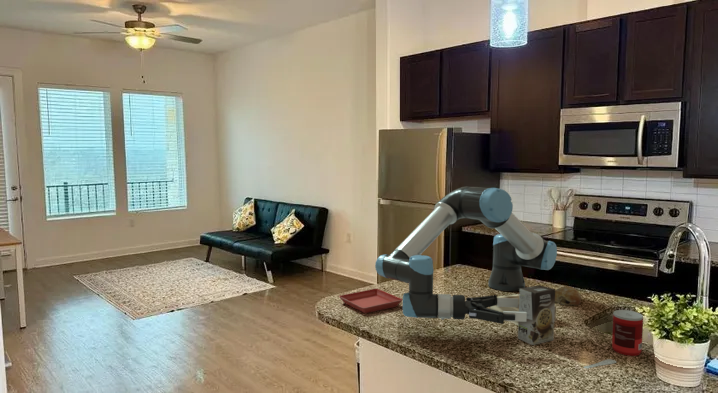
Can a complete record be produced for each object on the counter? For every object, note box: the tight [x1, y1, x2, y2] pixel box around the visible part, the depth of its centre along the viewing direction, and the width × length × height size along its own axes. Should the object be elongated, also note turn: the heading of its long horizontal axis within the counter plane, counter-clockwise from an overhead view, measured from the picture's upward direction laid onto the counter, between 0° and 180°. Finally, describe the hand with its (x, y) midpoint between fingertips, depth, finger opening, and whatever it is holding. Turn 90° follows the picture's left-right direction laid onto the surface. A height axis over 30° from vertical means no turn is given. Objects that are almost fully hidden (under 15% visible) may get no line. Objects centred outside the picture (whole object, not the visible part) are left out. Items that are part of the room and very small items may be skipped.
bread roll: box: [555, 285, 582, 306], centre depth 190 cm, size 10×10×8 cm
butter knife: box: [583, 358, 617, 370], centre depth 132 cm, size 1×24×3 cm
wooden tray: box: [489, 293, 557, 326], centre depth 174 cm, size 15×17×5 cm
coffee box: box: [517, 284, 556, 346], centre depth 151 cm, size 9×6×16 cm
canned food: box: [611, 309, 644, 357], centre depth 143 cm, size 8×8×11 cm
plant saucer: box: [338, 288, 403, 314], centre depth 187 cm, size 18×18×3 cm
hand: (522, 309), depth 152 cm, fingers open, 13 cm apart
